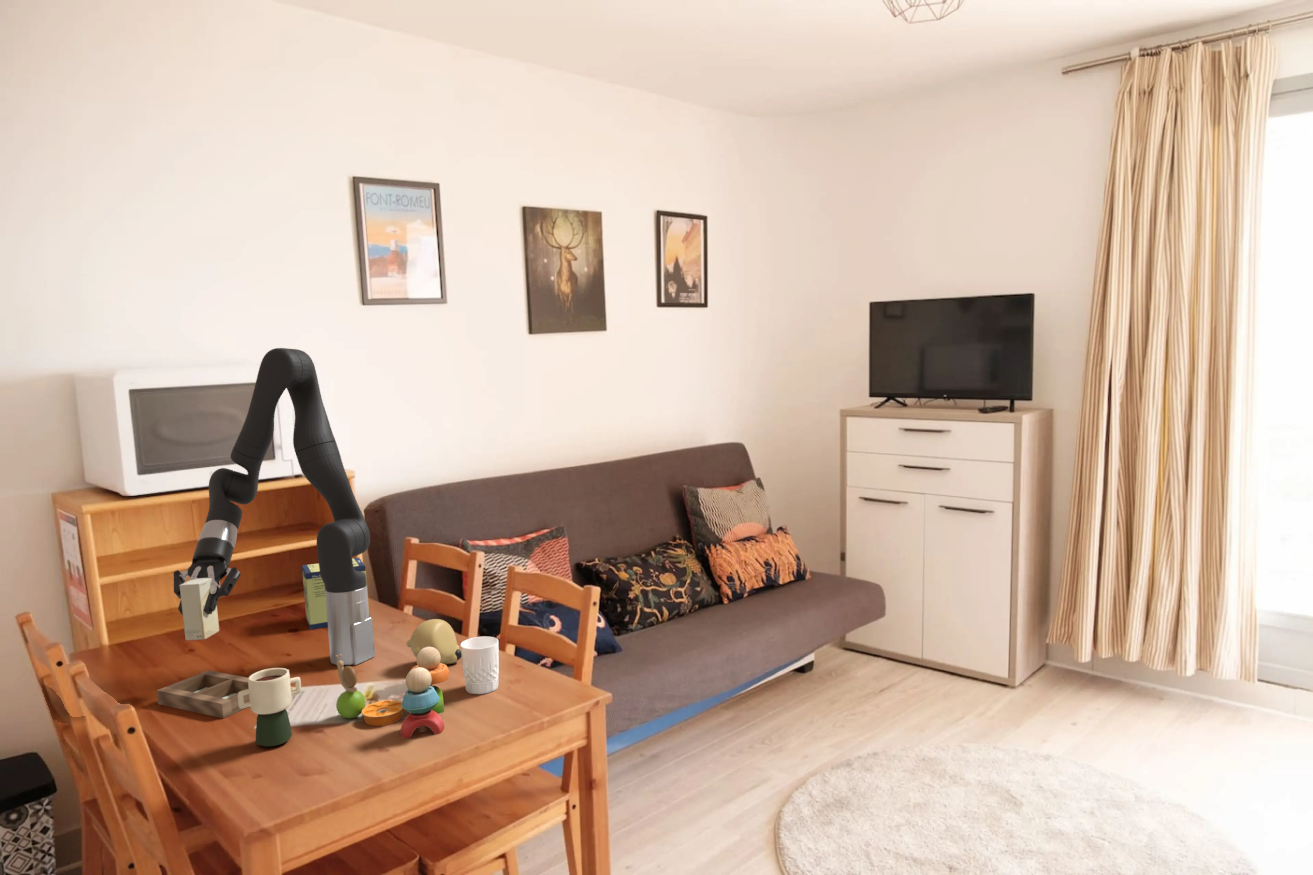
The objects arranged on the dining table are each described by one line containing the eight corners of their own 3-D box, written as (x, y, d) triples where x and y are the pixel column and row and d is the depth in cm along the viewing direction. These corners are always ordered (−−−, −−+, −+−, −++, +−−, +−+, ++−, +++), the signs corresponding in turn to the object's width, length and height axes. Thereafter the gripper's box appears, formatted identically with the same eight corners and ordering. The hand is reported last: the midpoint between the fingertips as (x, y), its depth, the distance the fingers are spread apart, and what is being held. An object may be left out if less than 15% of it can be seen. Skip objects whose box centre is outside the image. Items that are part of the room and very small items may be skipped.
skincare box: (205, 640, 181) (199, 584, 180) (184, 641, 181) (178, 585, 180) (220, 630, 187) (214, 576, 186) (200, 631, 187) (194, 577, 186)
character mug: (299, 727, 164) (294, 661, 163) (310, 739, 159) (305, 671, 157) (238, 744, 158) (231, 676, 156) (247, 758, 152) (241, 687, 151)
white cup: (464, 697, 176) (461, 650, 175) (462, 684, 183) (459, 638, 182) (502, 692, 178) (500, 645, 177) (499, 679, 185) (496, 634, 184)
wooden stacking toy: (361, 712, 171) (356, 651, 169) (448, 697, 177) (445, 638, 176) (365, 749, 154) (360, 682, 153) (461, 731, 160) (457, 667, 159)
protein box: (305, 620, 234) (300, 564, 233) (364, 610, 241) (360, 556, 240) (309, 630, 225) (304, 572, 223) (370, 620, 232) (366, 564, 231)
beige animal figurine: (445, 685, 192) (477, 647, 196) (408, 655, 187) (441, 616, 190) (430, 671, 201) (461, 635, 204) (394, 642, 195) (426, 605, 199)
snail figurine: (354, 707, 173) (350, 650, 172) (371, 715, 169) (367, 656, 167) (329, 717, 169) (324, 658, 167) (346, 725, 164) (342, 664, 163)
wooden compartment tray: (273, 695, 181) (272, 682, 180) (223, 718, 170) (222, 703, 170) (209, 683, 189) (208, 670, 189) (158, 704, 178) (156, 690, 178)
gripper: (176, 537, 189) (153, 606, 178) (242, 534, 190) (223, 602, 179) (190, 555, 195) (168, 623, 184) (254, 552, 196) (236, 619, 185)
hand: (195, 612), depth 182 cm, fingers closed on skincare box, 4 cm apart
